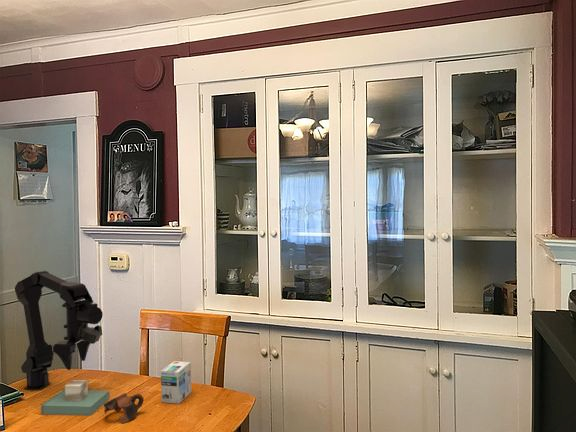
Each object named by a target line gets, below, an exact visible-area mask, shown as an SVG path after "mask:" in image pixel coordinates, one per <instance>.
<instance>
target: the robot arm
mask: <svg viewBox="0 0 576 432" xmlns="http://www.w3.org/2000/svg"><path fill="white" fill-rule="evenodd" d="M44 287H45V288H47V289H49V290H51V291H53V292H56V293H57V294H59V298H60V299H61V300H63V301H64V303H63V304H62V305H61V307H62V308H65V314H66V315H65V320H66V323H65V324H63V328H64V329H66V335H65V336H63V340H60V341H58V342H56V343H54V345H52V344H49V343H47V342H46V340H45V333H44V330H43V329H44V327H43V322H42V316H41V311H40V310H41V309H40V304H39V302H40V300H41V297H42V295H43V289H44ZM14 292H15V295H16V298H17V300H18V301H19V302H20V303H21V304H22V306H23V309H24V317H25V323H26V329H27V336H28V341H29V345H28V347H27V350H26V353H25V354H26V356H25V357H26V359H25V361H24V362H23V363H22V364H21V371H22V373H23V374H26V386H24V388H23V389H24V390H42V389H43V388H45V387H47V386H48V385H50V384H51V381H50V378H49V372H48V368H52V363H53V360H54V355H57V356H58V357H59V359H60V360H61V362H62V363H63V365H64V367H65V368H66V370H67V371H70V370H72V363H73V355H74V354H75V352H76V351H77V350H78V354H79V356H80V361H81V362H85V361H86V358H87V355H88V352H89V351H88V350H89V348H90V345H92V344H93V345H94V344H95V343H97V342H99V341H100V338H101V336H103V328H102V326H101V325H99V323H100V322H101V321H102V319H103V314H104V313H103V310H102V309H101V308H100V307H98V303H95V302H94V300H93V297H92V296H91V294H90V293H89V290H88V288H87V287H86V285H85V284H84V283H82V282H77V281H76V282H75V281H74V282H73V281H67V280H65V279H63V278H60V277H58V276H56V275H54V274H51V273H50V272H49V271H47V270H41V271H35V272H33V273H32V274H30V275H29V276H28V277H26V278H23V279H22V280H20V281H17V283H16V285H15V286H14ZM89 324H90V325H95V326H94V327H93V326H92V327H90V326H88V325H89ZM76 347H77V350H76Z"/></svg>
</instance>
